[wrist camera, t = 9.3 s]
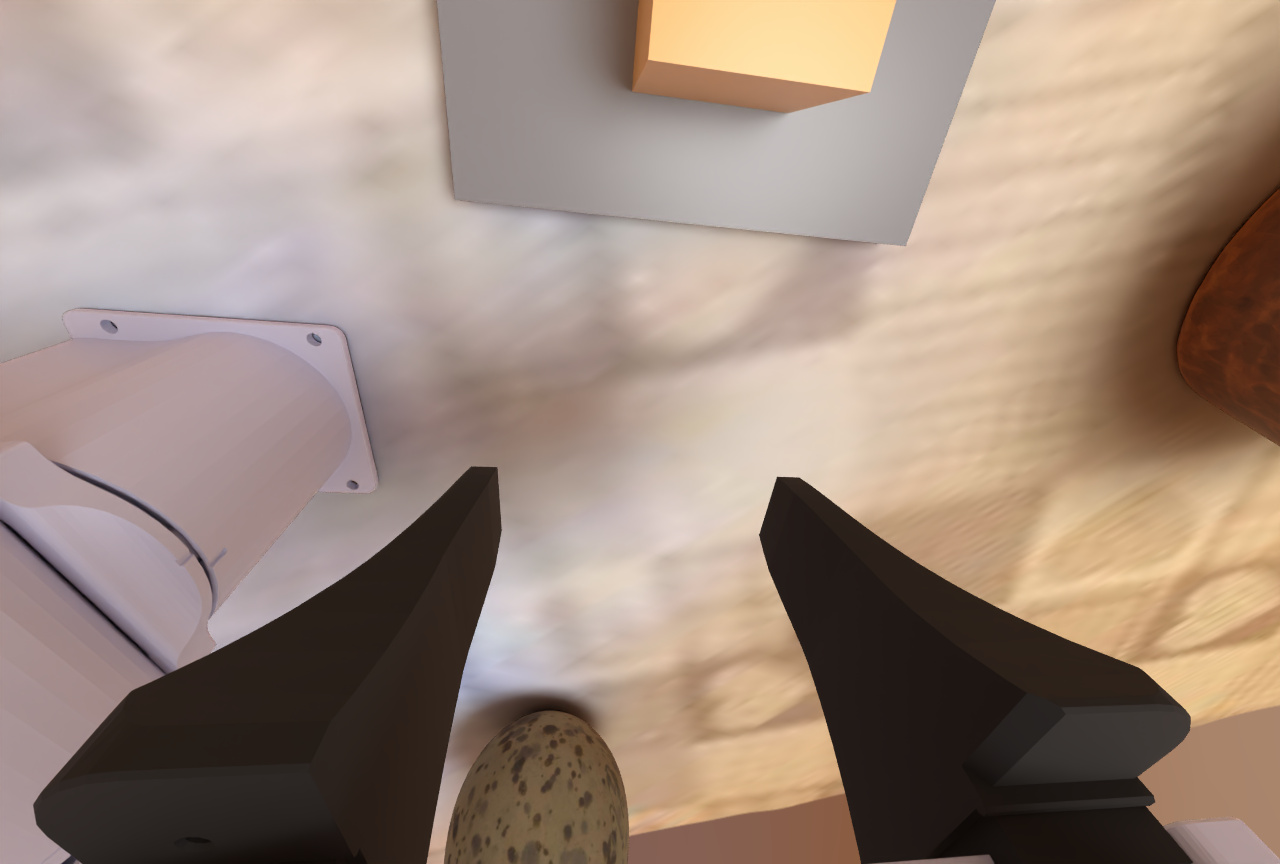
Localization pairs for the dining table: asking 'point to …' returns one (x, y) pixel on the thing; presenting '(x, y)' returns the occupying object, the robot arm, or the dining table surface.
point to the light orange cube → (759, 50)
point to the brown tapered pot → (1239, 327)
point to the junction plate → (693, 124)
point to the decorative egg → (541, 798)
